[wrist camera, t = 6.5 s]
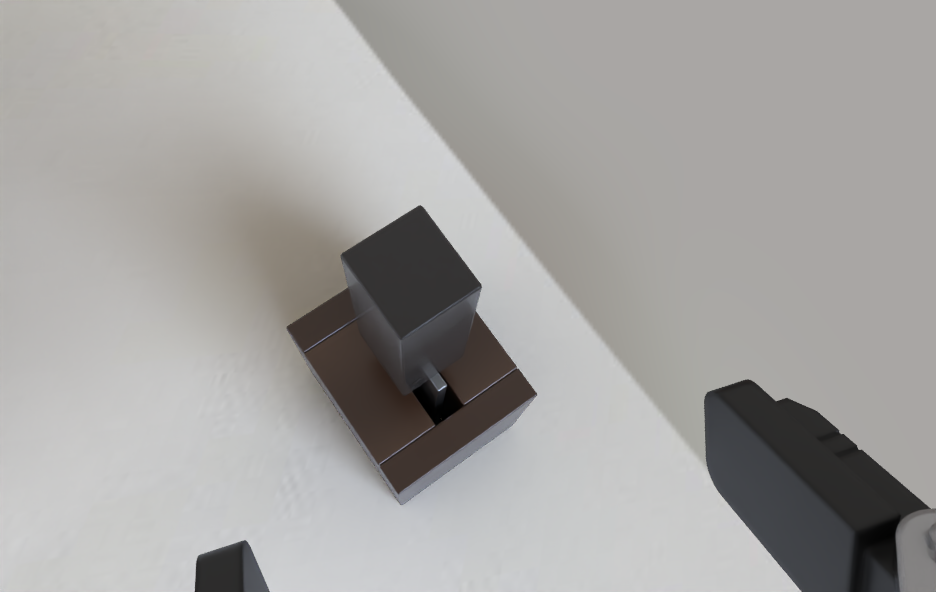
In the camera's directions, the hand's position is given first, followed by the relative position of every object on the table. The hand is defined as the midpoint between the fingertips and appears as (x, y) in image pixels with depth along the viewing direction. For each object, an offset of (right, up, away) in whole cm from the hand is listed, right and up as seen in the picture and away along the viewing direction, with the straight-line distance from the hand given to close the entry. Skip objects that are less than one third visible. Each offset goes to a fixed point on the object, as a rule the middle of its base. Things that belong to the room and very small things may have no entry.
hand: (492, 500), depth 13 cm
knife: (-2, 0, +16) cm, 16 cm away
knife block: (-2, 0, +16) cm, 16 cm away
